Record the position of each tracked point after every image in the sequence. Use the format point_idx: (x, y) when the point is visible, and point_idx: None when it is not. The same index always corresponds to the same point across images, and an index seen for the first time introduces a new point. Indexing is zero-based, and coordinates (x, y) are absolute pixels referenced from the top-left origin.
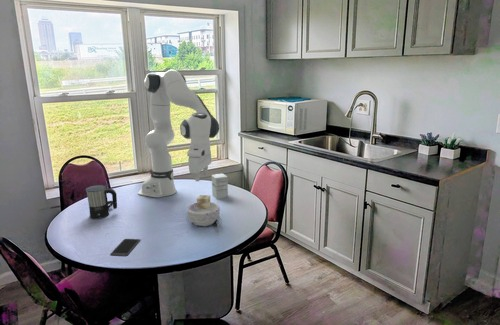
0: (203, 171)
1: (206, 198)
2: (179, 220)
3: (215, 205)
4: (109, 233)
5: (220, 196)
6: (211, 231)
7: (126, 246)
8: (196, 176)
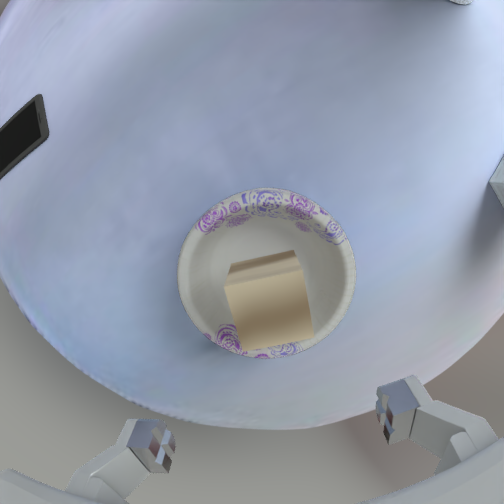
0: (405, 417)
1: (254, 344)
2: (233, 140)
3: (326, 318)
4: (61, 25)
5: (500, 195)
6: None
7: (12, 141)
8: (108, 468)
